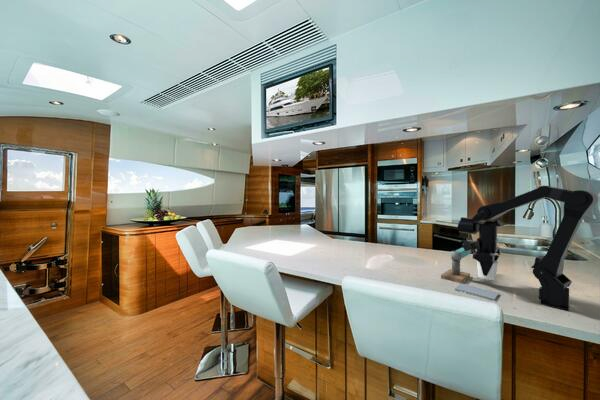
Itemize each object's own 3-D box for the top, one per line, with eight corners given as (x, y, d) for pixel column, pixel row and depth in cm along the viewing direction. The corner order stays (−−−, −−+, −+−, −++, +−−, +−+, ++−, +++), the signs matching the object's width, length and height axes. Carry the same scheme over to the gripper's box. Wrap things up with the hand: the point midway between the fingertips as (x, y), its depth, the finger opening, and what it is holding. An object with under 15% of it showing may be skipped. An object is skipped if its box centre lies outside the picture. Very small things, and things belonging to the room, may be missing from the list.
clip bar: (459, 261, 101) (459, 253, 101) (450, 259, 104) (450, 252, 104) (472, 253, 114) (472, 247, 114) (463, 252, 117) (464, 245, 117)
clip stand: (469, 276, 105) (470, 259, 105) (462, 283, 97) (462, 264, 97) (449, 272, 111) (450, 255, 111) (441, 278, 103) (441, 260, 103)
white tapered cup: (501, 281, 92) (502, 263, 92) (481, 279, 93) (482, 262, 93) (491, 275, 99) (491, 258, 98) (472, 273, 100) (473, 257, 100)
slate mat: (498, 294, 87) (498, 292, 87) (494, 300, 82) (494, 299, 82) (460, 284, 96) (460, 283, 96) (454, 290, 91) (454, 288, 91)
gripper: (470, 231, 108) (469, 264, 108) (458, 236, 95) (457, 273, 96) (501, 234, 99) (500, 270, 100) (492, 240, 87) (491, 281, 87)
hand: (486, 273), depth 96 cm, fingers closed on white tapered cup, 6 cm apart
